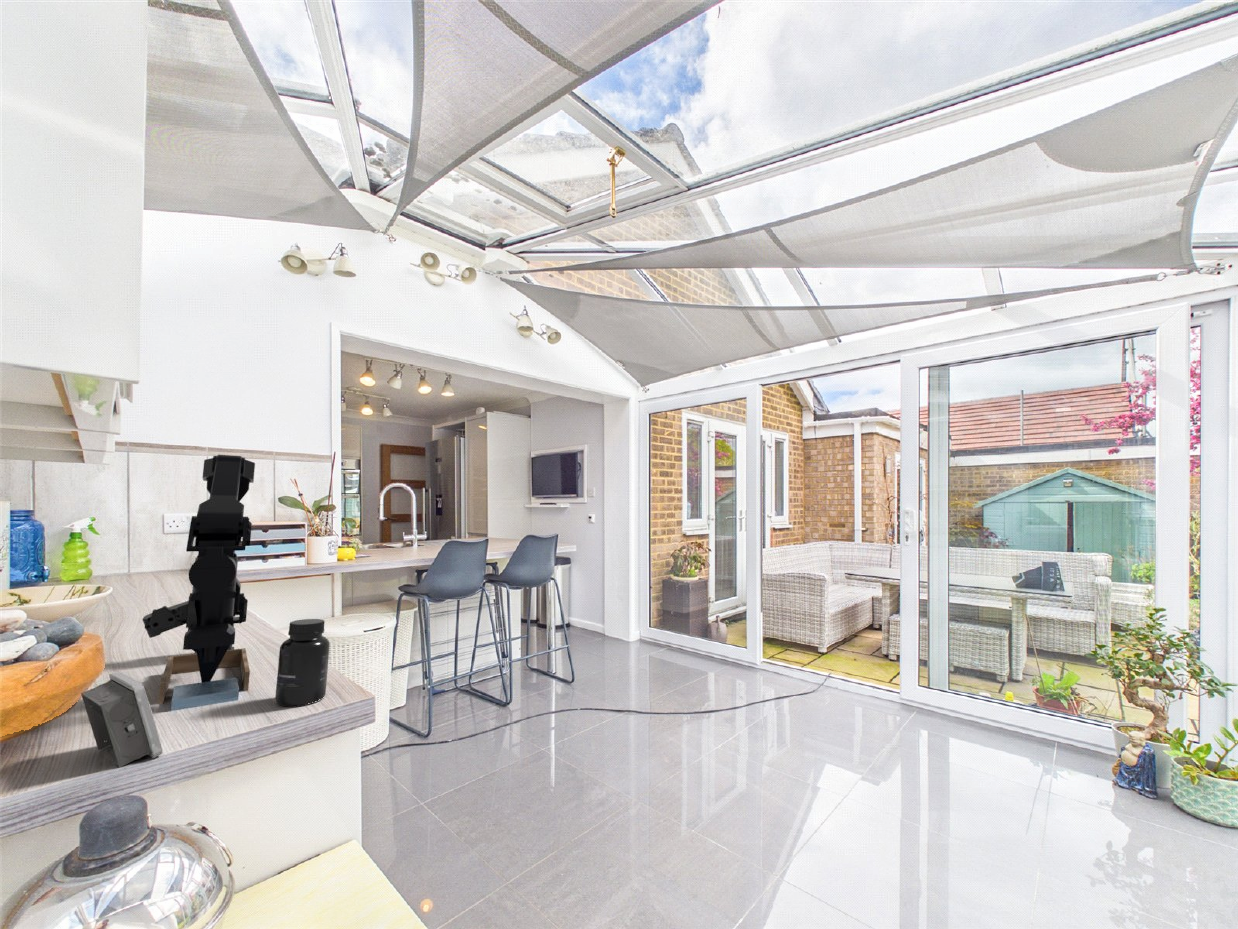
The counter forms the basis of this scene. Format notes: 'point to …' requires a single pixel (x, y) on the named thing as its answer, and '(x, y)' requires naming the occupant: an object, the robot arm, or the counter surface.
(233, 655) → the open box
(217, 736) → the counter surface
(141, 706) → the electrical switch
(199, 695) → the cover plate
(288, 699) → the supplement bottle
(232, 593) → the robot arm
